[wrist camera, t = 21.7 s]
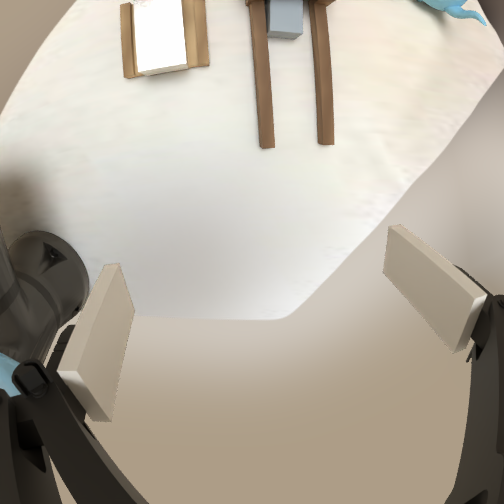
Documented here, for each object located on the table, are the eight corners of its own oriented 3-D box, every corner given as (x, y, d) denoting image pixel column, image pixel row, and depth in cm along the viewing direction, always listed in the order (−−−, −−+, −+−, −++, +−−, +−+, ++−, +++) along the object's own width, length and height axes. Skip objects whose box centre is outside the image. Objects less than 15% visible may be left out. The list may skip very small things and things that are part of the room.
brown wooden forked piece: (256, 146, 38) (269, 156, 30) (242, -28, 26) (252, -55, 19) (331, 142, 38) (358, 152, 31) (318, -24, 27) (342, -46, 20)
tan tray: (127, 78, 31) (124, 77, 29) (124, 9, 26) (120, 4, 25) (208, 65, 32) (209, 63, 30) (203, -5, 27) (204, -10, 26)
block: (188, 68, 31) (186, 63, 27) (146, 76, 31) (138, 71, 26) (182, -10, 26) (179, -25, 22) (141, -2, 25) (133, -16, 21)
